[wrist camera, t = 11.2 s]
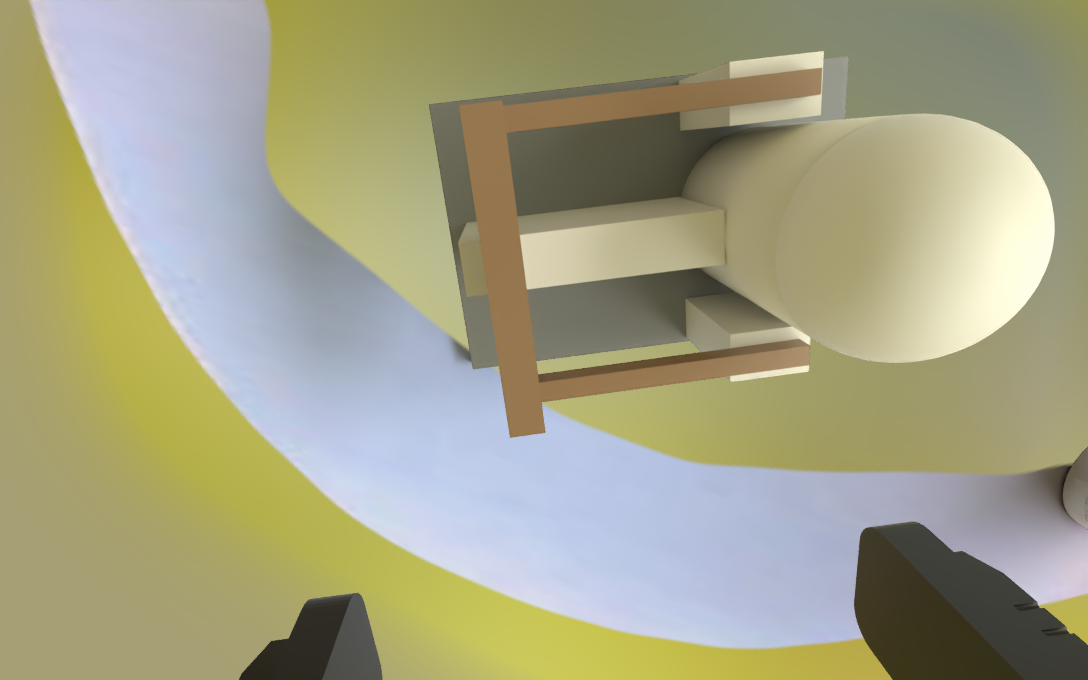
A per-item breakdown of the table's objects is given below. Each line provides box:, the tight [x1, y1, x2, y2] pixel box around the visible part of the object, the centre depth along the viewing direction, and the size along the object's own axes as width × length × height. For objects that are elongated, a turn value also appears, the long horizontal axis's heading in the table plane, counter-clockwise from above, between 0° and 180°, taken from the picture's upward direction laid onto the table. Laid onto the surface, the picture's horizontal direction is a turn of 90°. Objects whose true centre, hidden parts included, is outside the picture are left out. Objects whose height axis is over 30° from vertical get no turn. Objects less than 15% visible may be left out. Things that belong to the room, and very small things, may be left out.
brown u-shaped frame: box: [459, 68, 822, 438], centre depth 24 cm, size 14×13×4 cm
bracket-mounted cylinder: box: [429, 51, 1054, 382], centre depth 25 cm, size 22×15×18 cm, turn 96°
